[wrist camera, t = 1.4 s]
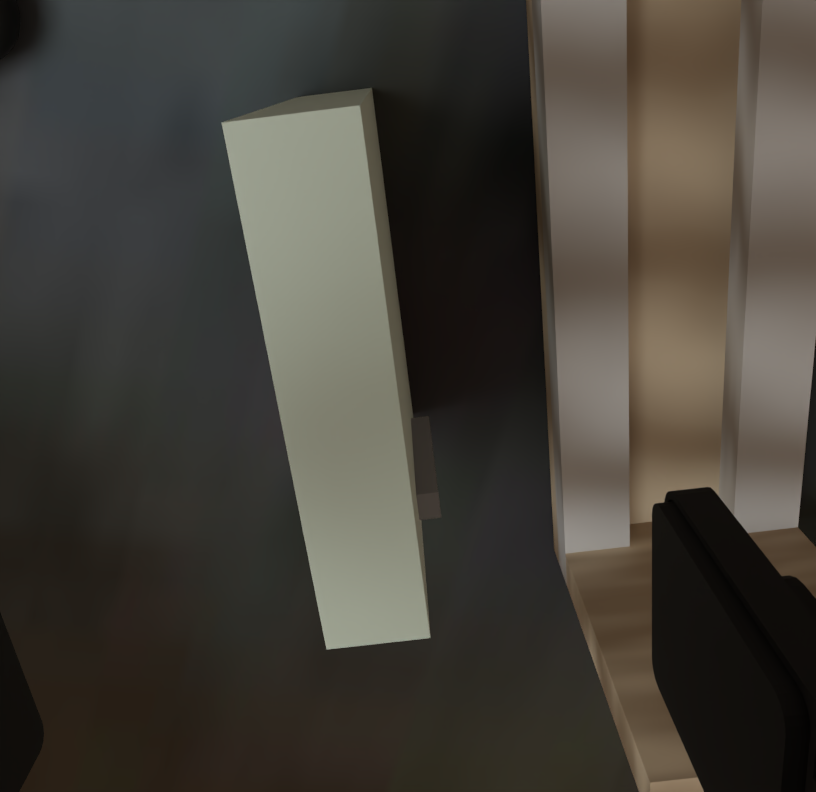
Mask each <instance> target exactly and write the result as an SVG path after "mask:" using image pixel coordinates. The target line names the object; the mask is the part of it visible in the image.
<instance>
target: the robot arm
mask: <svg viewBox="0 0 816 792" xmlns="http://www.w3.org/2000/svg"><path fill="white" fill-rule="evenodd" d="M652 665H653V671H654V676H655V680H656V683H657V686H658V688H659V691H660V693H661V695H662V697H663V700H664V702H665V704H666V707H667V709H668V711H669V713H670V716H671V718H672V720H673V722H674V725H675V727H676V729H677V732H678V734H679V736H680V738H681V741H682V743H683V745H684V747H685V750H686V752H687V754H688V757H689V759H690V761H691V763H692V766H693V768H694V770H695V773H696V775H697V777H698V779H699V782H700V784H701V786H702V788H703V791H704V792H816V598H815V597H814V596H813V595H812V593H811V592H810V591H809V590H808V589H807V587H806V586H805V585H804V584H803V583H802V582H801V581H800V580H799V579H798V578H796V577H793V576H790V575H788V576H781V575H780V573H779V572H778V571H777V570H776V568H775V567H774V566H773V565H772V563H771V562H770V561H769V559H768V558H767V557H766V556H765V554H764V553H763V552H762V551H761V549H760V548H759V547H758V546H757V544H756V543H755V542H754V540H753V539H752V538H751V537H750V535H749V534H748V533H747V532H746V530H745V529H744V528H743V527H742V525H741V524H740V523H739V521H738V520H737V519H736V518H735V516H734V515H733V514H732V513H731V511H730V510H729V509H728V508H727V506H726V505H725V504H724V502H723V501H722V500H721V499H720V497H719V496H718V495H717V494H716V492H715V491H714V490H713V489H712V488H711V487H703V488H694V489H685V490H676V491H668V492H667V493H666V496H665V501H664V502H663V503H655V504H654V505H653V508H652ZM43 737H44V730H43V724H42V720H41V718H40V715H39V713H38V710H37V707H36V705H35V702H34V700H33V697H32V694H31V692H30V689H29V686H28V684H27V681H26V679H25V676H24V673H23V671H22V668H21V666H20V663H19V660H18V658H17V655H16V653H15V650H14V647H13V645H12V642H11V639H10V637H9V634H8V632H7V629H6V626H5V624H4V621H3V619H2V616H1V613H0V792H19V791H20V789H21V787H22V785H23V783H24V781H25V779H26V778H27V776H28V774H29V772H30V770H31V768H32V766H33V764H34V762H35V760H36V759H37V757H38V755H39V753H40V750H41V748H42V744H43Z"/></svg>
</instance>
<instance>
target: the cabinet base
mask: <svg viewBox="0 0 816 792" xmlns="http://www.w3.org/2000/svg"><path fill="white" fill-rule="evenodd" d="M526 7H527V26H528V46H529V65H530V85H531V104H532V124H533V144H534V163H535V183H536V202H537V222H538V241H539V261H540V281H541V300H542V320H543V339H544V359H545V378H546V398H547V418H548V437H549V457H550V476H551V496H552V515H553V535H554V550H555V553H556V556H557V559H558V561H559V564H560V567H561V570H562V573H563V576H564V579H565V581H566V584H567V587H568V590H569V593H570V596H571V599H572V601H573V604H574V607H575V610H576V613H577V616H578V619H579V621H580V624H581V627H582V630H583V633H584V636H585V639H586V641H587V644H588V647H589V650H590V653H591V656H592V659H593V661H594V664H595V667H596V670H597V673H598V676H599V679H600V681H601V684H602V687H603V690H604V693H605V696H606V699H607V701H608V704H609V707H610V710H611V713H612V716H613V719H614V721H615V724H616V727H617V730H618V733H619V736H620V739H621V741H622V744H623V747H624V750H625V753H626V756H627V759H628V761H629V764H630V767H631V770H632V773H633V776H634V779H635V781H636V784H637V787H638V790H639V792H704V791H703V788H702V786H701V784H700V782H699V779H698V777H697V775H696V773H695V770H694V768H693V766H692V763H691V761H690V759H689V757H688V754H687V752H686V750H685V747H684V745H683V743H682V741H681V738H680V736H679V734H678V732H677V729H676V727H675V725H674V722H673V720H672V718H671V716H670V713H669V711H668V709H667V707H666V704H665V702H664V700H663V697H662V695H661V693H660V691H659V688H658V686H657V683H656V680H655V676H654V671H653V665H652V508H653V505H654V504H655V503H663V502H664V501H665V496H666V493H667V492H668V491H676V490H685V489H694V488H703V487H711V488H712V489H713V490H714V491H715V492H716V494H717V495H718V496H719V497H720V499H721V500H722V501H723V502H724V504H725V505H726V506H727V508H728V509H729V510H730V511H731V513H732V514H733V515H734V516H735V518H736V519H737V520H738V521H739V523H740V524H741V525H742V527H743V528H744V529H745V530H746V532H747V533H748V534H749V535H750V537H751V538H752V539H753V540H754V542H755V543H756V544H757V546H758V547H759V548H760V549H761V551H762V552H763V553H764V554H765V556H766V557H767V558H768V559H769V561H770V562H771V563H772V565H773V566H774V567H775V568H776V570H777V571H778V572H779V573H780V575H781V576H788V575H790V576H793V577H796V578H798V579H799V580H800V581H801V582H802V583H803V584H804V585H805V586H806V587H807V589H808V590H809V591H810V592H811V593H812V595H813V596H814V597H815V598H816V547H815V546H814V545H813V544H812V542H811V541H810V540H809V539H808V538H807V537H806V536H805V535H804V533H803V532H802V531H801V530H800V529H799V528H798V521H799V511H800V500H801V489H802V478H803V468H804V457H805V446H806V436H807V425H808V414H809V404H810V393H811V382H812V372H813V361H814V350H815V340H816V0H526Z"/></svg>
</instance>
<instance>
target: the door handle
mask: <svg viewBox="0 0 816 792" xmlns="http://www.w3.org/2000/svg"><path fill="white" fill-rule="evenodd" d="M19 31H20V13H19V9H18V5H17V2H16V0H0V59H1V58H2V57H4V56H5V55H6V54H7V53H8V52H9V51H10V50H11V49H12V48H13V46H14V45H15V43H16V41H17V38H18V35H19Z"/></svg>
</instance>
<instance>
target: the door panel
mask: <svg viewBox="0 0 816 792" xmlns="http://www.w3.org/2000/svg"><path fill="white" fill-rule="evenodd" d="M222 127H223V132H224V137H225V142H226V147H227V152H228V157H229V162H230V167H231V172H232V177H233V182H234V187H235V192H236V197H237V202H238V207H239V212H240V217H241V222H242V227H243V232H244V237H245V242H246V247H247V253H248V258H249V263H250V268H251V273H252V278H253V283H254V288H255V293H256V298H257V303H258V308H259V313H260V318H261V323H262V328H263V333H264V338H265V343H266V348H267V353H268V358H269V363H270V368H271V373H272V378H273V383H274V388H275V393H276V398H277V403H278V408H279V413H280V418H281V423H282V428H283V433H284V438H285V443H286V448H287V453H288V458H289V463H290V468H291V473H292V478H293V483H294V488H295V493H296V498H297V503H298V508H299V513H300V519H301V524H302V529H303V534H304V539H305V544H306V549H307V554H308V559H309V564H310V569H311V574H312V579H313V584H314V589H315V594H316V599H317V604H318V609H319V614H320V619H321V624H322V629H323V634H324V639H325V644H326V649H335V648H344V647H353V646H362V645H371V644H380V643H389V642H398V641H407V640H416V639H425V638H430V627H429V614H428V601H427V588H426V575H425V562H424V550H423V537H422V524H421V520H424V519H433V518H441V512H440V503H439V494H438V486H437V478H436V470H435V462H434V454H433V446H432V437H431V429H430V421H429V416H425V417H416V418H413V410H412V402H411V394H410V387H409V379H408V371H407V363H406V355H405V347H404V339H403V331H402V323H401V315H400V307H399V299H398V291H397V283H396V275H395V267H394V259H393V251H392V243H391V235H390V227H389V219H388V211H387V203H386V195H385V187H384V179H383V171H382V163H381V155H380V148H379V140H378V132H377V124H376V116H375V108H374V100H373V92H372V88H366V89H358V90H350V91H342V92H334V93H326V94H319V95H311V96H303V97H297V98H294V99H291V100H288V101H285V102H282V103H279V104H276V105H273V106H270V107H267V108H264V109H261V110H258V111H255V112H252V113H249V114H246V115H243V116H240V117H237V118H234V119H231V120H228V121H225V122H222Z"/></svg>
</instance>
